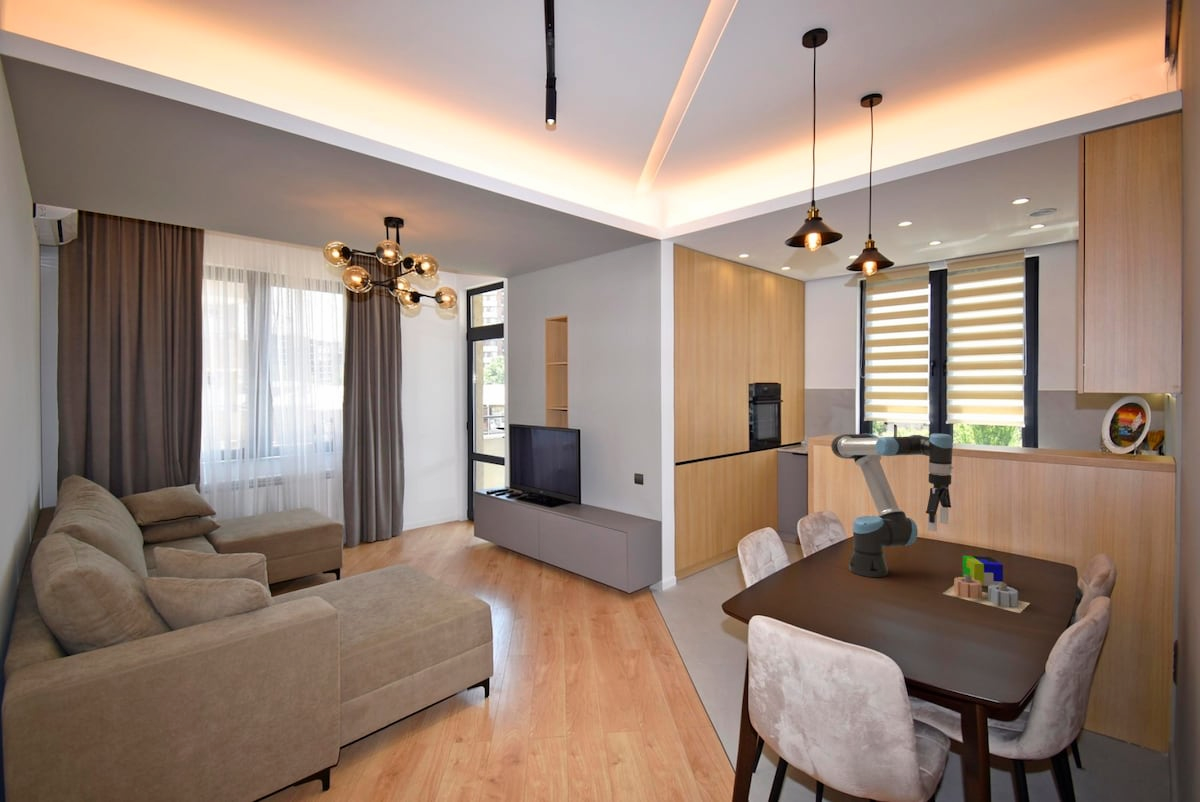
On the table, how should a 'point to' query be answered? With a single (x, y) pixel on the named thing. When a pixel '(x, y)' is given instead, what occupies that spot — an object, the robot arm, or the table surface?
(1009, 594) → the gear
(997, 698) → the table surface
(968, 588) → the loose gear
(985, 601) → the gear board
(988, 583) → the puzzle toy
